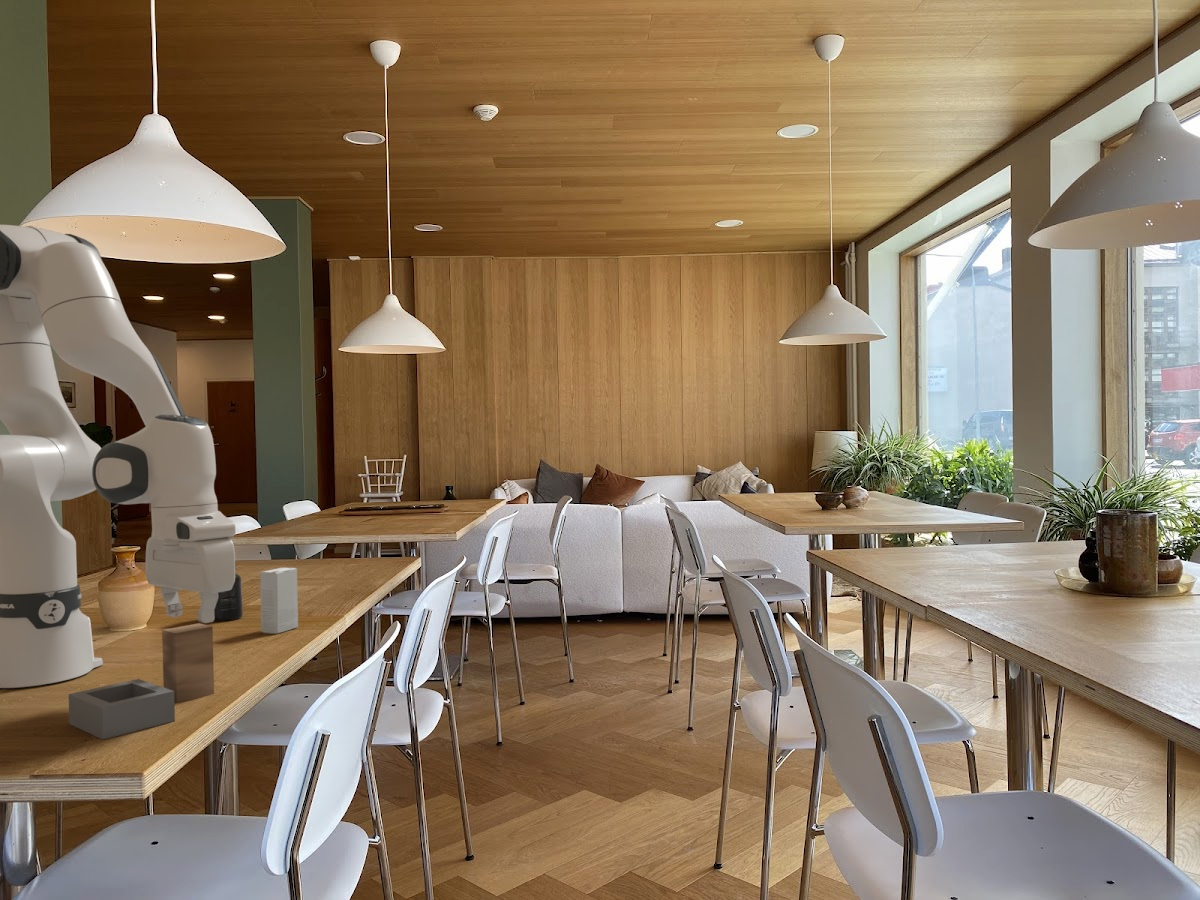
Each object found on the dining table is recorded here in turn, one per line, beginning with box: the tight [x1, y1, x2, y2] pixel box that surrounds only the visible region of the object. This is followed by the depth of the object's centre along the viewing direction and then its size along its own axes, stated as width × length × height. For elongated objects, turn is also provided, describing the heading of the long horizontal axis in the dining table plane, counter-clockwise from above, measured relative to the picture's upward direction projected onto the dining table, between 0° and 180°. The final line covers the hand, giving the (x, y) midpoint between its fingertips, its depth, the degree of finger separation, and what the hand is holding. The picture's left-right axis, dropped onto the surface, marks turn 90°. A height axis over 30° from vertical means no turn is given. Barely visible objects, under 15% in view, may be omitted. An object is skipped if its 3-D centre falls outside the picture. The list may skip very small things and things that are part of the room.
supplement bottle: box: [213, 561, 244, 622], centre depth 187 cm, size 7×7×12 cm
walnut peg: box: [161, 622, 215, 704], centre depth 129 cm, size 4×6×10 cm
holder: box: [68, 678, 176, 741], centre depth 117 cm, size 10×9×4 cm
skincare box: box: [259, 567, 299, 635], centre depth 174 cm, size 6×4×12 cm
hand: (190, 619), depth 129 cm, fingers open, 8 cm apart
